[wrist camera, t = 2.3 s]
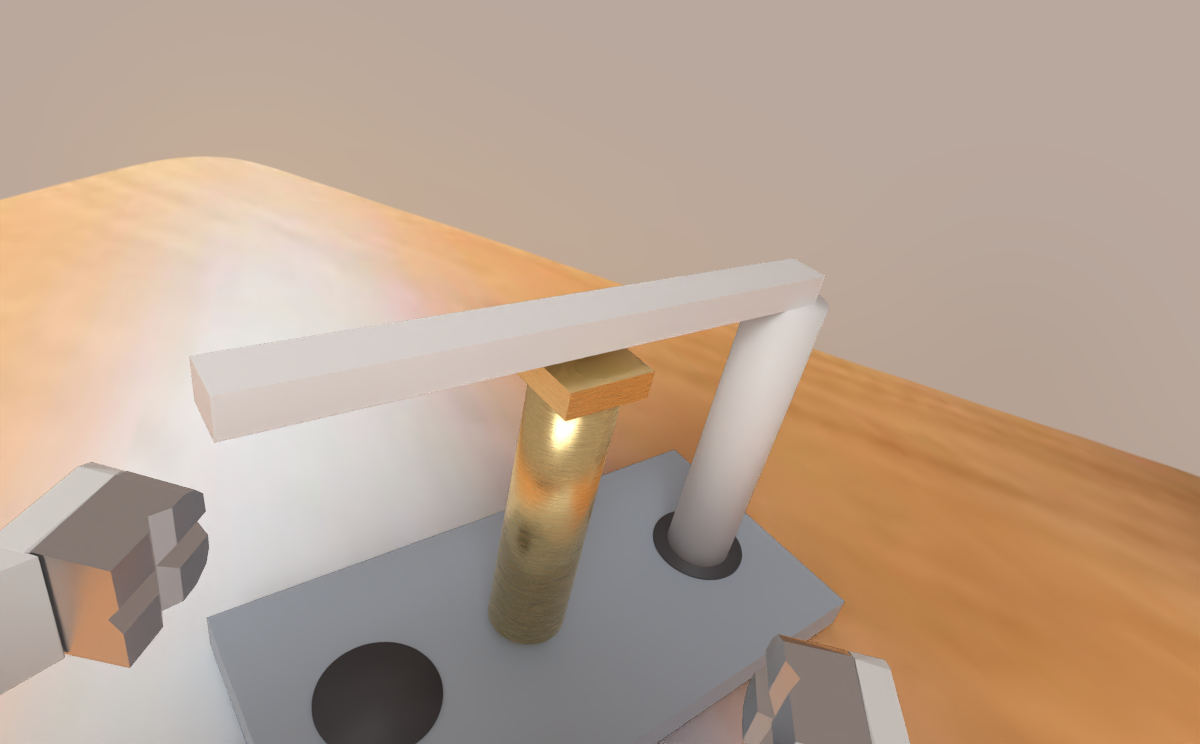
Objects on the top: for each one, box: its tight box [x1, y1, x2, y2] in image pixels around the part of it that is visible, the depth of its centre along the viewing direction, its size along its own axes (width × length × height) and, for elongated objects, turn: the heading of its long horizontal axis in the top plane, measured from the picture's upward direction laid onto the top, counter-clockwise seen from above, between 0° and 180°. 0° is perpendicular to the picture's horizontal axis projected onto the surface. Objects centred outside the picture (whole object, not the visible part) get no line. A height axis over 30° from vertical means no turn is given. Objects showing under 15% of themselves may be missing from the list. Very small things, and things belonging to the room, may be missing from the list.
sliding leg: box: [488, 348, 655, 644], centre depth 26 cm, size 3×3×12 cm
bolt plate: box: [189, 258, 845, 744], centre depth 27 cm, size 24×12×16 cm, turn 127°
